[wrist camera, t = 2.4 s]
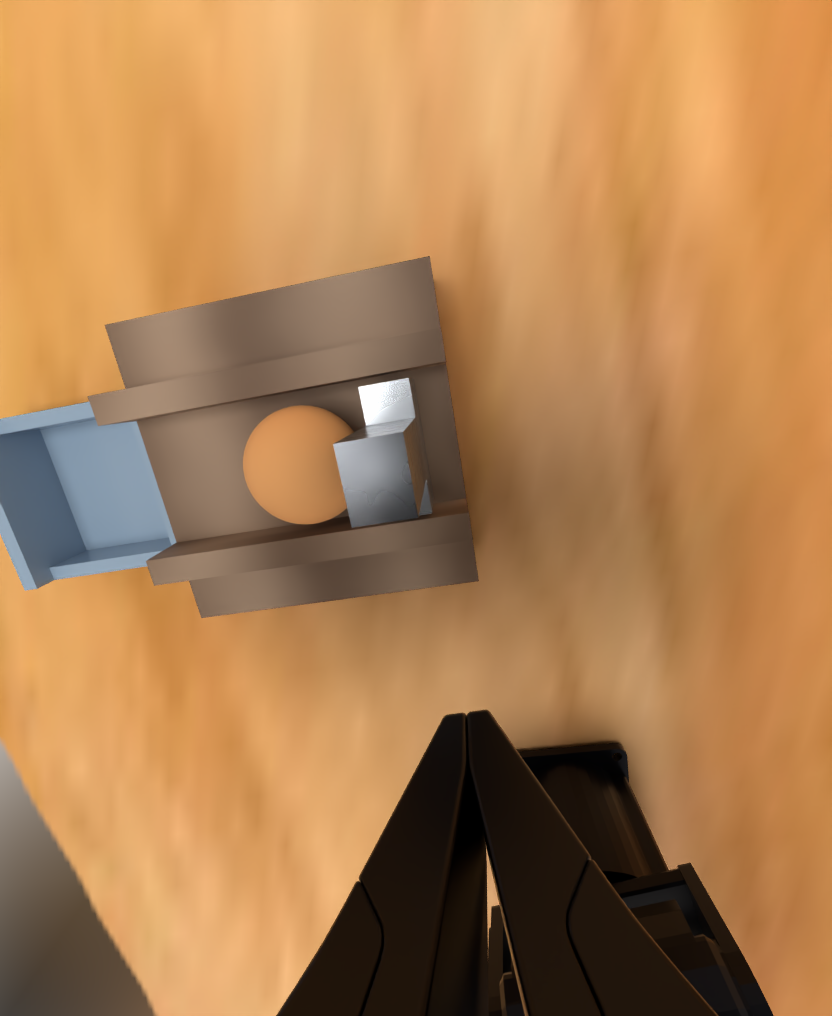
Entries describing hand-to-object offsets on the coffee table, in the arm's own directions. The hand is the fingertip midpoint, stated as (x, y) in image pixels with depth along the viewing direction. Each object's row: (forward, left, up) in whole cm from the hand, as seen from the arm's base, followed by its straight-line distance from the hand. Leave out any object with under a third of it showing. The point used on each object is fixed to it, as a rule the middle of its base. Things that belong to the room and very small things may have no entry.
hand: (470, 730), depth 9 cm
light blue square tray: (+15, -4, -13) cm, 21 cm away
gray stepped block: (+1, -4, -9) cm, 11 cm away
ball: (+5, -4, -8) cm, 10 cm away
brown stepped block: (+5, -4, -13) cm, 15 cm away
